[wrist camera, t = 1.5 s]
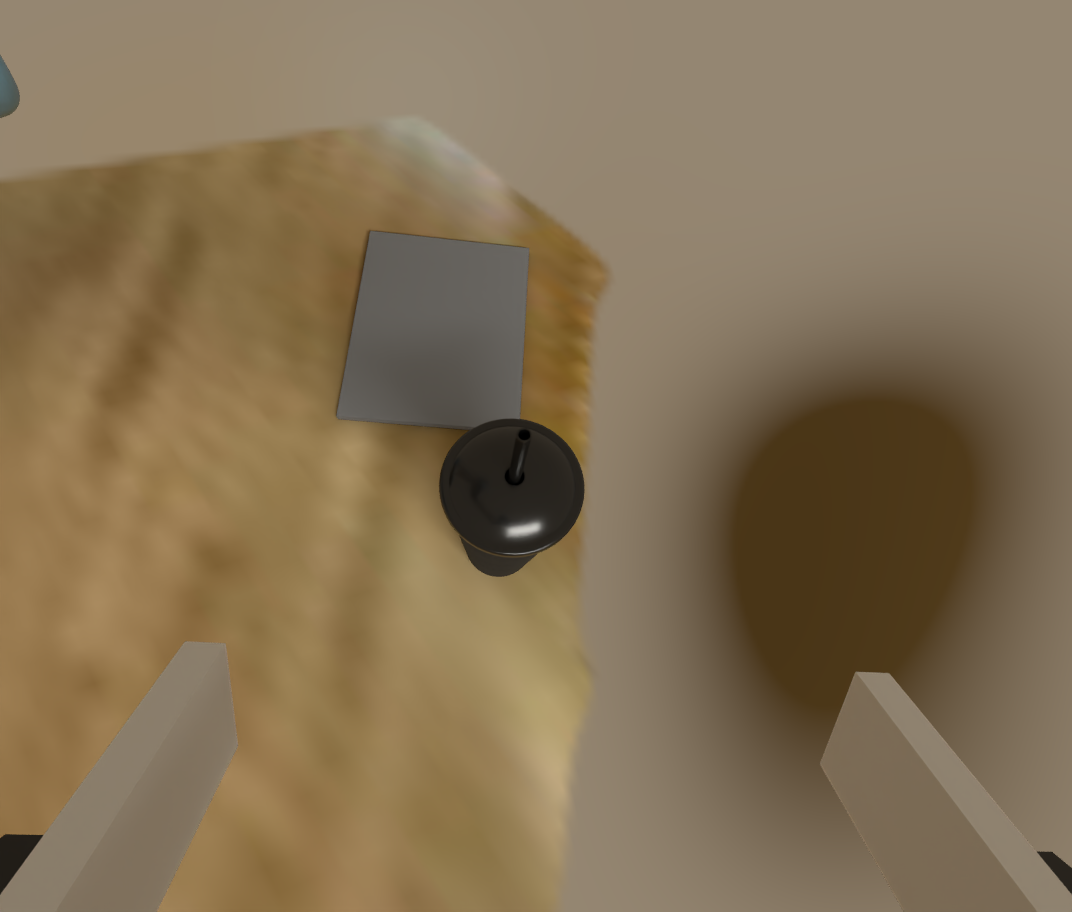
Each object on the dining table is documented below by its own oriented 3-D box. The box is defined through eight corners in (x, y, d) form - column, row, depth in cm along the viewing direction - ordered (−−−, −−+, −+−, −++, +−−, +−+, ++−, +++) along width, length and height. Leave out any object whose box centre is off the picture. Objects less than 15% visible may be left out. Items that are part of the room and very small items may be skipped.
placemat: (337, 419, 46) (336, 415, 46) (371, 235, 53) (370, 230, 52) (518, 433, 47) (519, 430, 47) (528, 252, 54) (529, 248, 54)
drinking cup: (455, 607, 42) (450, 537, 23) (438, 504, 44) (420, 369, 26) (560, 585, 43) (633, 503, 25) (537, 487, 46) (587, 346, 27)
